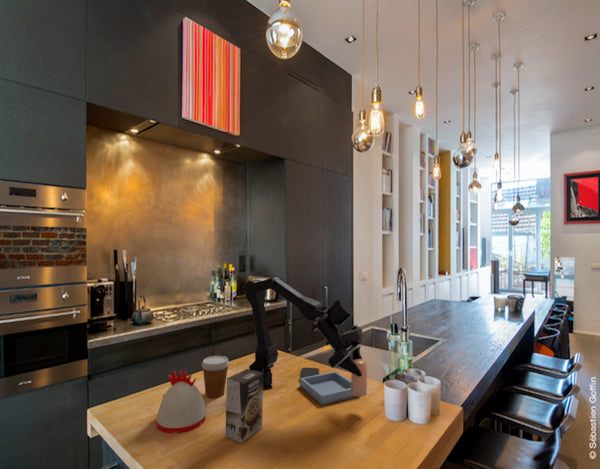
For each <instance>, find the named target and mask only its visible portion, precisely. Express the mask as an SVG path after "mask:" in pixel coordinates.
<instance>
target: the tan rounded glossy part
mask: <svg viewBox="0 0 600 469" xmlns="http://www.w3.org/2000/svg"><path fill="white" fill-rule="evenodd" d="M362 359H363V358H362ZM362 359H354V360H353V361H354V362H355V364H356V365H357V367H358V369H359V370H360V372H361V374H362V376H360V377H359V376H357V375H355V374H353V373H351V372H350V373H351V374H350V376H351V377H350V381H351V393H352V394H353V395H355V396H358V397H365V396H367V394H368V390H367V389H368V361H367V360H366V359H363V360H362Z"/></svg>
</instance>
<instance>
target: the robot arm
mask: <svg viewBox="0 0 600 469" xmlns="http://www.w3.org/2000/svg"><path fill="white" fill-rule="evenodd" d="M267 290H268V291H269V290H272V291H273V292H275V293H277V294H278V295H279V296H280V297H282V298H284V300H286V301H288V302H289V303H290V304H291V305H293V306H295V308H296V309H297V310H298V312H299V313H300V315H301V316H302V317H303V318H304V319H305V320H307V321H309V322H312V323H311V330H310V331H311V332H315V331H317V330H318V332H319V333H320V334H321V336H322V337H323V338H324V339H325V341H326V342H325V345H326V346H330V347H331V348H332V349H333V351H334V352H333V355H331V356H330V357H329V358H328V360H327V364H328V365H329V366H330V367H331V369H333V368H335V367H337V368H338V367H339V368H340V369H342V370H345V371H347V372H349V373H353V374H355V375H357V376H359V377H360V376H362V374H361V372H360V370H359V369H358V367H357V365H356V364H355V362H354V361H353V360H354V359H362V360H364V359H363V357H362V355H361V346H362V345H361V344H362V342H363V340H362V338H364V335H363V331H364V330H363V328H362V327H361V326H359V325H357V324H355V325H352V326H351V328H350V330H349V331H345V329H340V328H339V327H338V326H342V325H343V324H345V323H346V322H347V321H348V320H349V319H350V318H351V317H352V316H353V315H354V311H353V309H352V308H351V306H350V305H349V304H347V303H346V302H344V301H342V300H341V298H340V299H337V300H336V301H334V303H333V304H332V305H331V306H327V305H324V304H322V303H321V302H320V301H317V300H316V299H313V298H310V297H307V296H304V295H303V294H302V293H300V292H299V291H297V290H296V289H294V288H293V287H291V286H290V285H288V284H287V283H285V282H284V281H282V280H281V278H280V277H277V276H274V277H269V278H267V279H254V280H249V281H246V283H245V284H244V286H243V292H244V294H245V298H246V300H247V301H248V303H249V304H250V307H251V312H252V319H253V326H254V330H255V337H256V342H257V344H256V348H255V352H254V361H253V362H252V363H251V364H250V365H249V366H248V369H250V370H254V371H258V372H262V373H263V391H264V390H267V389H268V390H269V389H273V385H272V384H273V373H272V369H271V368H273V366H274V365H275V364H276V362H277V361H278V359H279V358H278V357H279V352H278V345H277V344H273V342H272V341H271V337H270V331H269V325H268V319H267V312H266V307H265V300H266V296H267ZM325 316H326V317H325ZM318 319H319V320H318ZM316 320H317V321H316ZM314 321H316V322H314ZM337 325H338V326H337Z"/></svg>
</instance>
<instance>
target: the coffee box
mask: <svg viewBox="0 0 600 469" xmlns="http://www.w3.org/2000/svg"><path fill="white" fill-rule="evenodd" d="M263 391H264V390H263V373H262V372H258V371H254V370H250V369H249V368H245V369H244V370H242V371H240V372H237V373H235V374H233V375H231V376H229V377H226V392H225V393H226V396H225V398H226V399H225V429H224V430H225V437H227V438H228V439H231V440H233V441H235V442H237V443H239V444H242V443H244V442H245V441H246V440H247V439H249V438H251V437H252V436H253V435H255V434H256V433H257V432H259V431H260V430H262V429H263V409H264V408H263V403H264V402H263V396H264V394H263V393H264V392H263Z"/></svg>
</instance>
